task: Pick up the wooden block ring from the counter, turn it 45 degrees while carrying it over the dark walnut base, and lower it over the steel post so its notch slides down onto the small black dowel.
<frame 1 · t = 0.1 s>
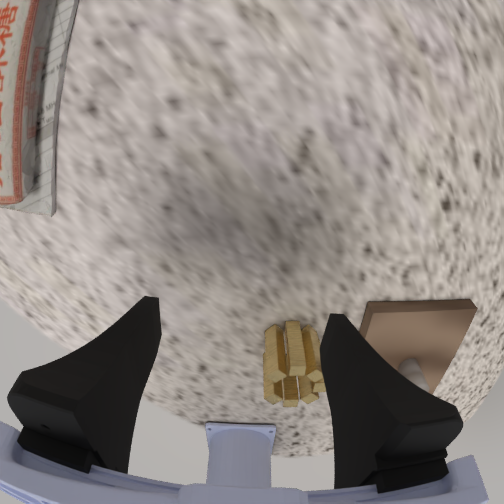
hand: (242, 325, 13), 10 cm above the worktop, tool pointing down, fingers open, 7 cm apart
wooden block ring: (289, 343, 27), on the worktop
packaged product: (18, 97, 18), on the worktop
post base: (402, 354, 28), on the worktop
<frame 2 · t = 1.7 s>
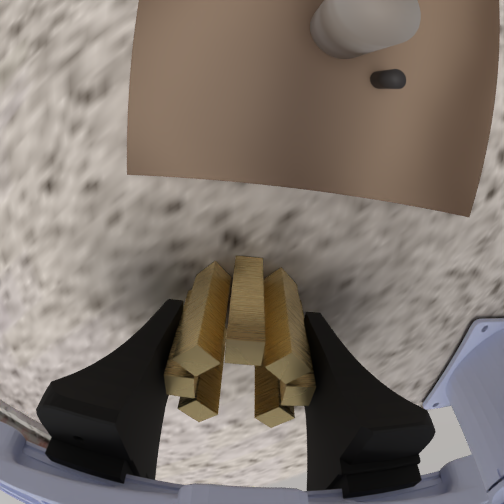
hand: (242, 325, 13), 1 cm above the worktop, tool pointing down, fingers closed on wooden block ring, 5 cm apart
wooden block ring: (243, 305, 15), on the worktop, touching gripper
packaged product: (33, 430, 24), on the worktop
post base: (331, 37, 9), on the worktop
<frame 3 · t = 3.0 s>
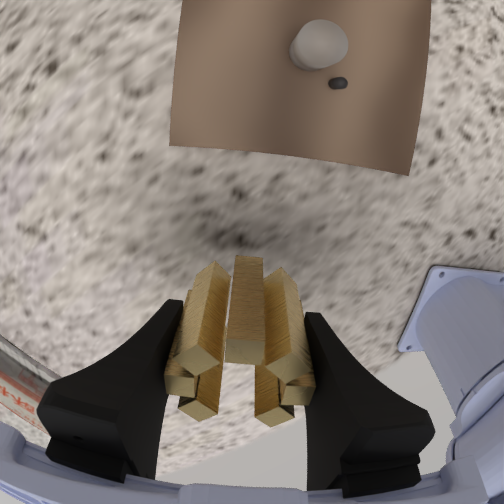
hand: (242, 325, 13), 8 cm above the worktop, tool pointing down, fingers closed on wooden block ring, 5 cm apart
wooden block ring: (243, 305, 15), point 6 cm above the worktop, touching gripper
packaged product: (53, 389, 29), on the worktop
post base: (304, 56, 15), on the worktop
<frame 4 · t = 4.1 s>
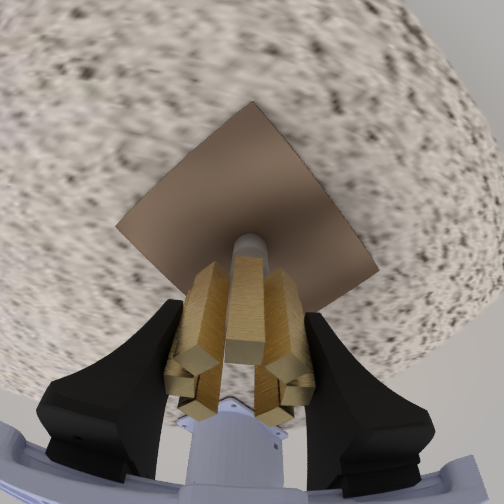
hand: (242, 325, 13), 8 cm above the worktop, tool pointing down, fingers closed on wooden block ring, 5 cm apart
wooden block ring: (243, 305, 15), point 7 cm above the worktop, touching gripper
post base: (250, 238, 21), on the worktop
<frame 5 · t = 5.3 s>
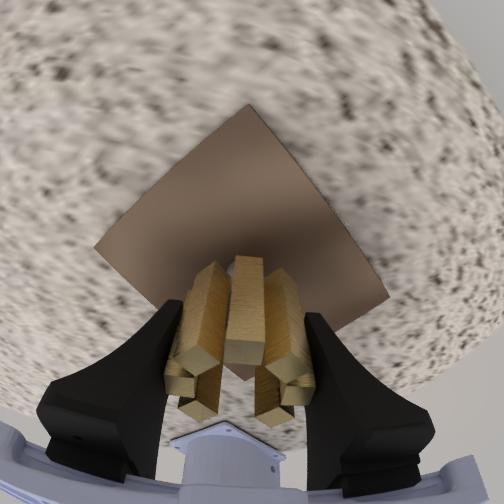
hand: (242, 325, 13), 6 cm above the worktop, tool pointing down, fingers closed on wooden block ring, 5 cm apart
wooden block ring: (243, 305, 15), point 4 cm above the worktop, touching gripper
post base: (246, 260, 18), on the worktop
when the fingers open (5 cm above the worktop, at t = 6.4 s): wooden block ring drops 2 cm, resting on post base.
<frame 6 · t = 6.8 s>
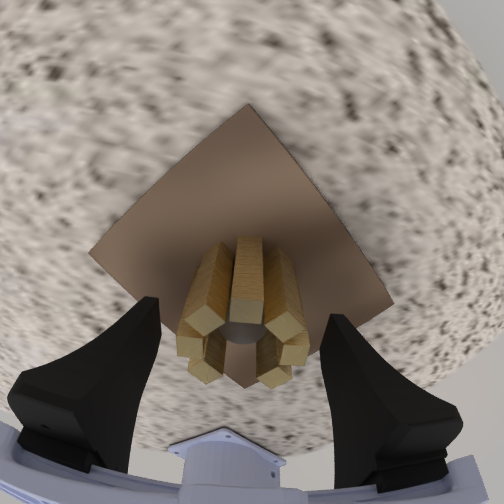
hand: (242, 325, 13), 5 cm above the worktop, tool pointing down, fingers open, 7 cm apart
wooden block ring: (245, 281, 16), point 1 cm above the worktop, touching post base
post base: (246, 266, 18), on the worktop
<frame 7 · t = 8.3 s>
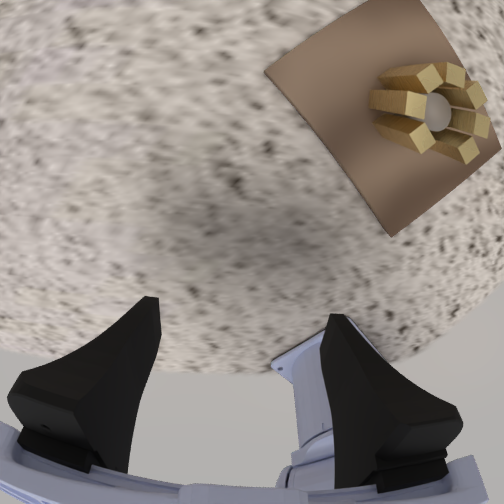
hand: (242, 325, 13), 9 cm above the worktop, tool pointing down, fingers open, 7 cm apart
wooden block ring: (407, 107, 16), point 1 cm above the worktop, touching post base
post base: (396, 105, 17), on the worktop
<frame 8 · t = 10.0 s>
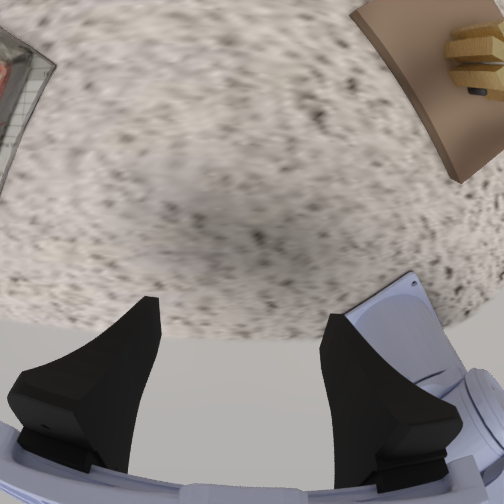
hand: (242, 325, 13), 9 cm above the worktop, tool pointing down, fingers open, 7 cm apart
wooden block ring: (473, 63, 14), point 1 cm above the worktop, touching post base
post base: (461, 63, 15), on the worktop
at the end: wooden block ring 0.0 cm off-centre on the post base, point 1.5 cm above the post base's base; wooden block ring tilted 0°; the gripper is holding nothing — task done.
